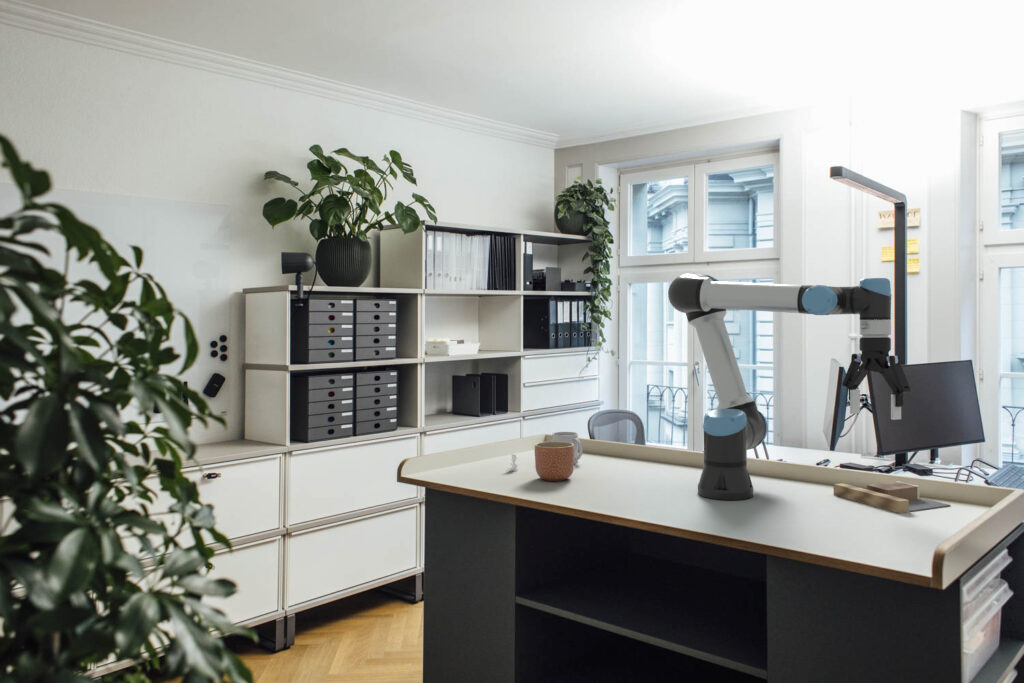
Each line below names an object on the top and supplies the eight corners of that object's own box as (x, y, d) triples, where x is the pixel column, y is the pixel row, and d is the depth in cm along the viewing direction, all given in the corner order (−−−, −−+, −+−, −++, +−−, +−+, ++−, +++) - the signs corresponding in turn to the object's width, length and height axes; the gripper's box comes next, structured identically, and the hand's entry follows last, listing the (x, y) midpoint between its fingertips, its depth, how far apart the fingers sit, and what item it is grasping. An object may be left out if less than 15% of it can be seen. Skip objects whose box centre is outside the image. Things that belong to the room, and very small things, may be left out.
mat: (843, 493, 212) (843, 492, 212) (881, 488, 217) (881, 487, 217) (910, 511, 192) (910, 510, 192) (950, 506, 197) (950, 504, 197)
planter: (569, 484, 229) (568, 448, 229) (529, 482, 233) (529, 446, 233) (578, 476, 241) (578, 441, 241) (541, 474, 245) (540, 440, 245)
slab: (866, 485, 205) (897, 481, 210) (866, 497, 205) (897, 493, 210) (888, 490, 199) (919, 486, 203) (888, 503, 199) (919, 499, 203)
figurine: (508, 475, 246) (508, 456, 246) (497, 471, 253) (497, 453, 253) (529, 472, 250) (529, 454, 250) (517, 468, 257) (517, 450, 257)
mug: (550, 460, 269) (550, 432, 269) (577, 459, 270) (576, 431, 270) (555, 466, 258) (555, 436, 258) (583, 464, 259) (582, 435, 259)
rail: (833, 494, 211) (833, 484, 211) (842, 493, 212) (842, 483, 212) (899, 513, 190) (899, 501, 190) (908, 512, 191) (908, 500, 191)
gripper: (828, 335, 211) (828, 411, 212) (903, 337, 188) (903, 423, 189) (849, 335, 214) (849, 410, 215) (926, 337, 191) (925, 421, 191)
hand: (874, 416), depth 202 cm, fingers open, 13 cm apart
